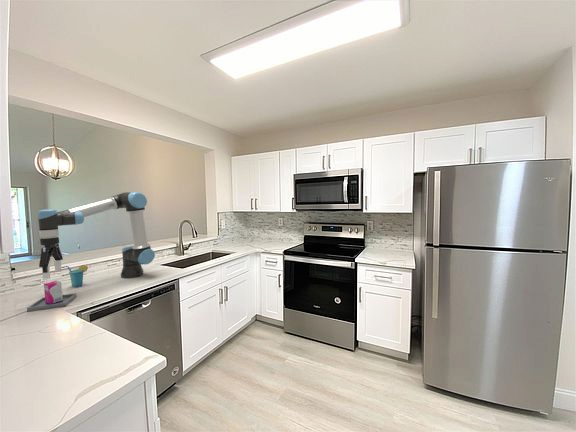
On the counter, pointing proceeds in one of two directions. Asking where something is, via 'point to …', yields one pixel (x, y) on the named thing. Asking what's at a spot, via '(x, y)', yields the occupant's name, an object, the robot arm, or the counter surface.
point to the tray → (42, 305)
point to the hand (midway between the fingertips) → (52, 274)
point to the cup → (77, 275)
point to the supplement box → (53, 292)
